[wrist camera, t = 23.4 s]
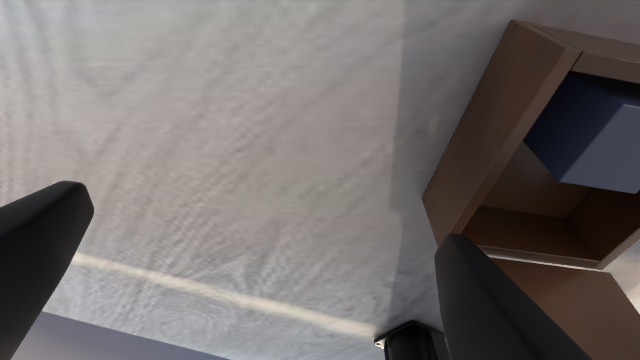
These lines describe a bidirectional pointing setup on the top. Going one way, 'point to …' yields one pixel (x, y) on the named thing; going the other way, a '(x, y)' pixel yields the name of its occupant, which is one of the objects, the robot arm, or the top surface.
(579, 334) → the lid
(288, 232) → the top surface
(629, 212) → the chest
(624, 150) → the block
